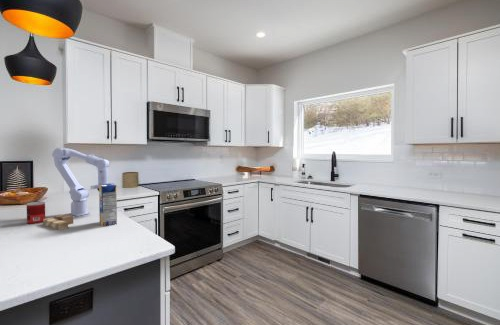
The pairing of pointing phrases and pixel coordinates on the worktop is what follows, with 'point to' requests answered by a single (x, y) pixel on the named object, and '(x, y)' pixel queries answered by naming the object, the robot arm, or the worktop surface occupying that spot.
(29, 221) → the canned food
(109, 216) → the beverage box
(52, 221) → the tan faceted bar
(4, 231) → the worktop surface
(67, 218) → the walnut block
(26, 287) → the worktop surface
